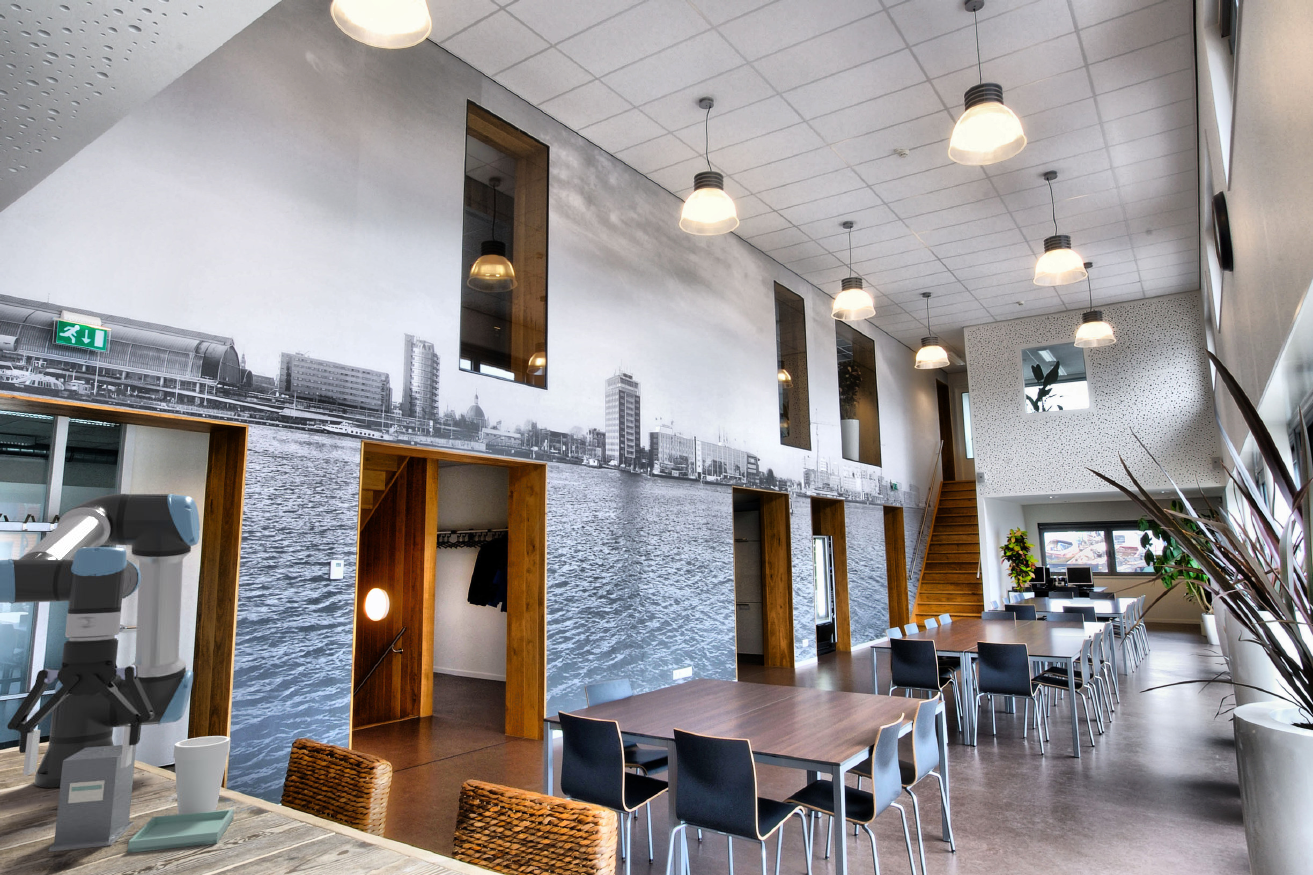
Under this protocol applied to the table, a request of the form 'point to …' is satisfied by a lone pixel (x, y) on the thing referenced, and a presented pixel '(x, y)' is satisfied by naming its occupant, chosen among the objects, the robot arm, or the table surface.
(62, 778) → the unit
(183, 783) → the foam cup
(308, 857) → the table surface
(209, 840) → the tray
